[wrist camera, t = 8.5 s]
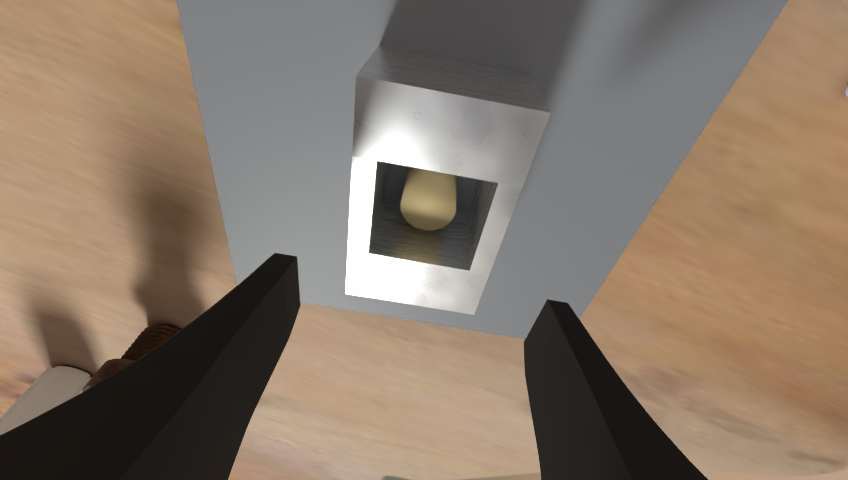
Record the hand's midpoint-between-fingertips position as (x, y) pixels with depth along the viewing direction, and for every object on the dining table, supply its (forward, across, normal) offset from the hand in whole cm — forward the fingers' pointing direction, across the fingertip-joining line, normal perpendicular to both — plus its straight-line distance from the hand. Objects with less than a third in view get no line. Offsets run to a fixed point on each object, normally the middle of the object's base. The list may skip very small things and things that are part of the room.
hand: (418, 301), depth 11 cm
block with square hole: (+7, 0, 0) cm, 7 cm away
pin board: (+9, 0, 0) cm, 9 cm away
